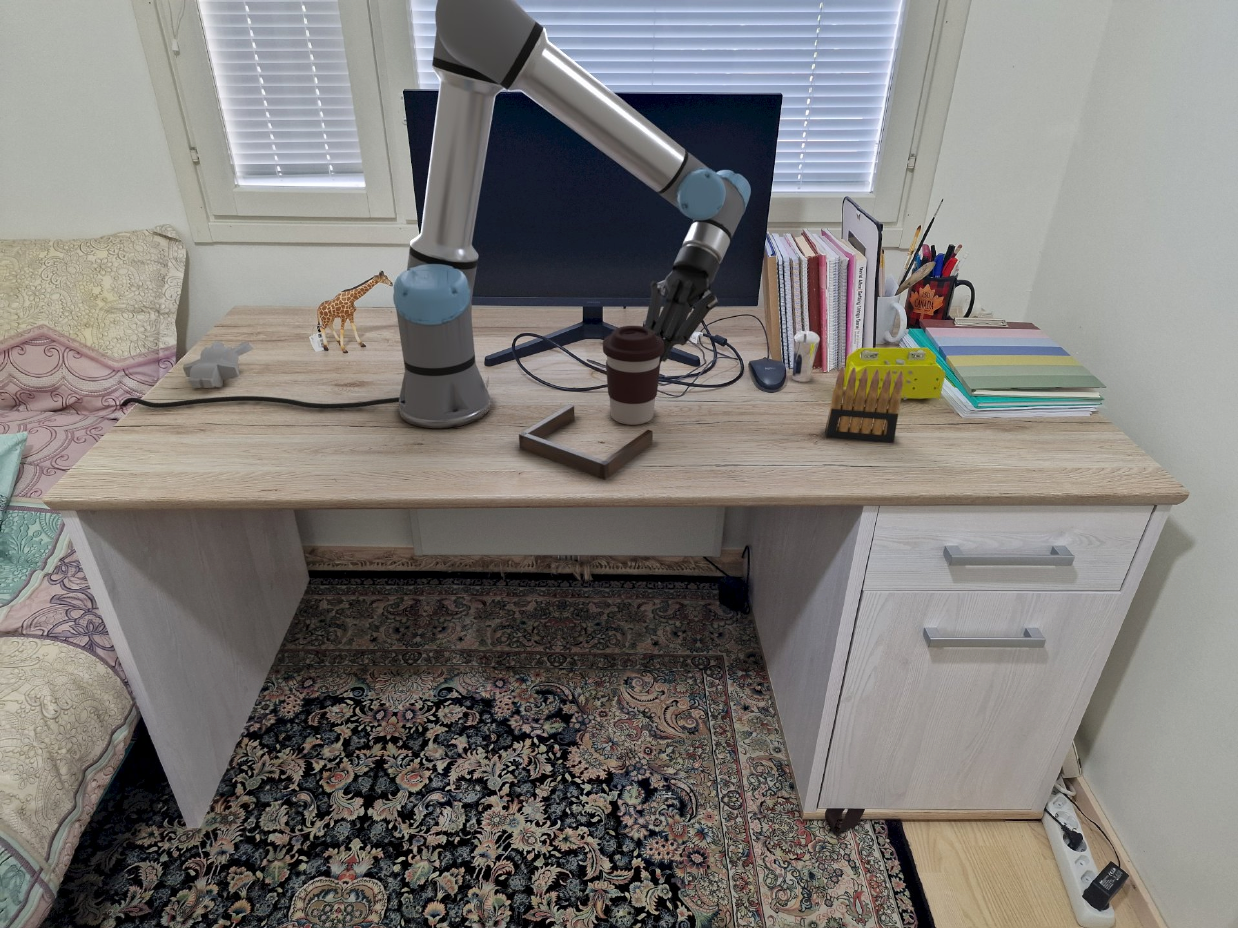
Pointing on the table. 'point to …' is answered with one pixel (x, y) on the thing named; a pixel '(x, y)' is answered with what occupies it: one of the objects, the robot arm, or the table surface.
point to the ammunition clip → (864, 408)
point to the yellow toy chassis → (917, 371)
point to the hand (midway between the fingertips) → (647, 375)
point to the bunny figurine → (215, 365)
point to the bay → (583, 462)
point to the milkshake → (804, 355)
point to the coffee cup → (632, 373)
